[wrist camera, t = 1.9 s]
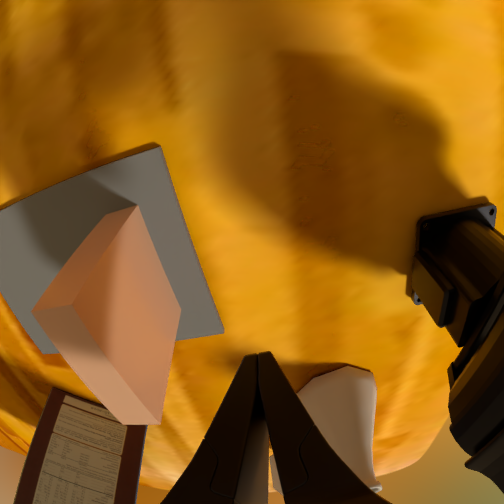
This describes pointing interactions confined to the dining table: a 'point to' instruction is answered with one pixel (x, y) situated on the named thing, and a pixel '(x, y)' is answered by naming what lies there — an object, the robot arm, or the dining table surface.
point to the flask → (346, 416)
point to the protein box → (81, 455)
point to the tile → (115, 317)
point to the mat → (79, 227)
